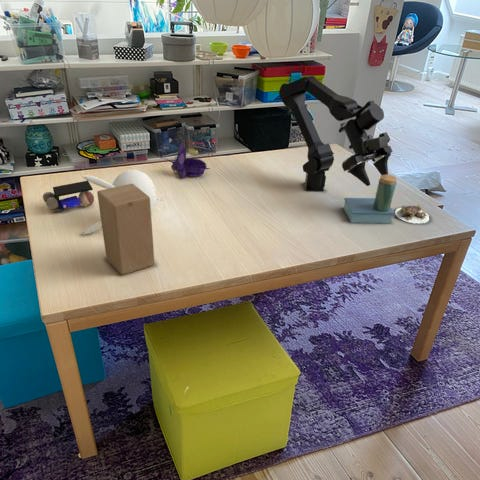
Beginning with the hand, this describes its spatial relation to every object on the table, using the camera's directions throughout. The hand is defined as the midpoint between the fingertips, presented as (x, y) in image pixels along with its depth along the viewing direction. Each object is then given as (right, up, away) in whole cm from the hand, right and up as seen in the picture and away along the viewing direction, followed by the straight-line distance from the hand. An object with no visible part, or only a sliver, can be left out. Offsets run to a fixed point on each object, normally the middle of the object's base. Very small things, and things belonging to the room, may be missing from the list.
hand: (378, 182), depth 160 cm
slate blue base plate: (-2, -9, +6) cm, 12 cm away
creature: (-64, +10, +27) cm, 70 cm away
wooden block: (-74, -28, -23) cm, 83 cm away
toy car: (-99, -8, +1) cm, 99 cm away
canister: (+2, -8, +3) cm, 8 cm away
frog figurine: (+13, -9, +8) cm, 18 cm away
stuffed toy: (-80, -15, -7) cm, 82 cm away
